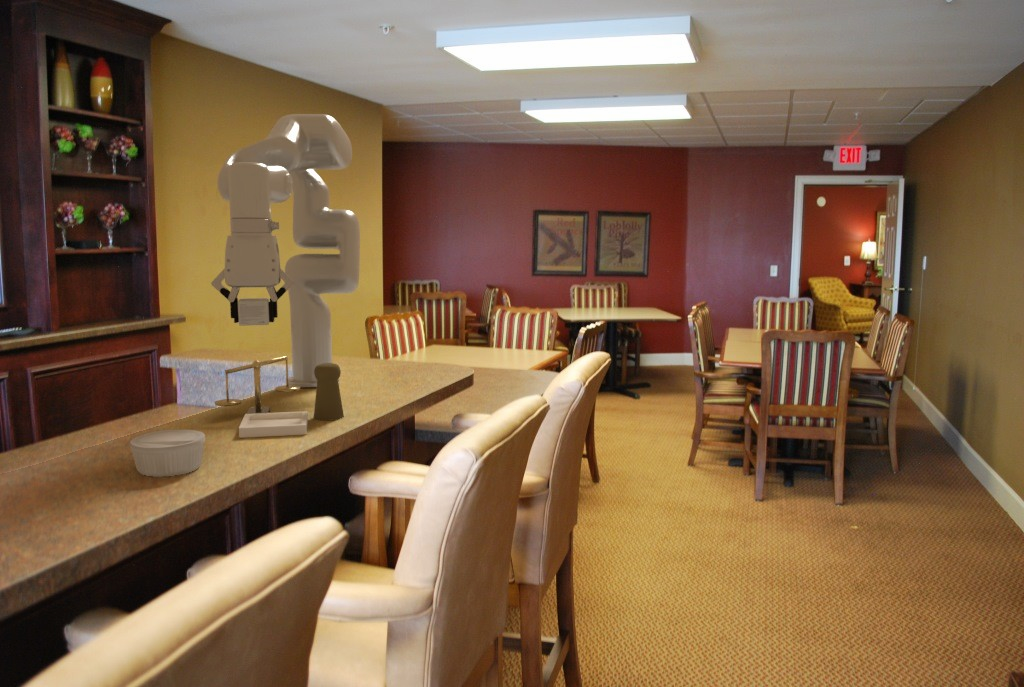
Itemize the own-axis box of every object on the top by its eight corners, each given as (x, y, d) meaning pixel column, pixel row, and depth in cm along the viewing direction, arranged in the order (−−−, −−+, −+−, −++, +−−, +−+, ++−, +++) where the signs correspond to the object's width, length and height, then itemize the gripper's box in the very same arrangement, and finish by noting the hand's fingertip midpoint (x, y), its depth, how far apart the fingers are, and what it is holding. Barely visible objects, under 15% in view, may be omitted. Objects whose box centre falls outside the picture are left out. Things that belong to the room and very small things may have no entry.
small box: (240, 322, 167) (239, 298, 166) (270, 322, 168) (269, 297, 168) (237, 326, 161) (237, 300, 161) (269, 325, 163) (268, 299, 162)
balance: (217, 414, 174) (214, 355, 172) (301, 410, 178) (299, 353, 176) (213, 420, 168) (210, 360, 167) (300, 417, 172) (298, 357, 170)
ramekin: (140, 484, 128) (138, 450, 127) (124, 467, 137) (122, 435, 136) (215, 472, 134) (214, 439, 133) (195, 456, 143) (193, 426, 142)
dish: (245, 422, 167) (245, 413, 167) (308, 420, 169) (307, 411, 169) (239, 437, 155) (238, 428, 155) (306, 434, 158) (306, 425, 157)
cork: (336, 421, 168) (335, 366, 167) (308, 419, 170) (306, 365, 168) (348, 414, 174) (347, 361, 173) (321, 413, 176) (319, 360, 174)
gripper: (298, 228, 168) (301, 319, 170) (207, 228, 165) (211, 320, 167) (296, 228, 160) (298, 323, 163) (200, 228, 157) (204, 324, 160)
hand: (254, 321), depth 165 cm, fingers closed on small box, 5 cm apart
